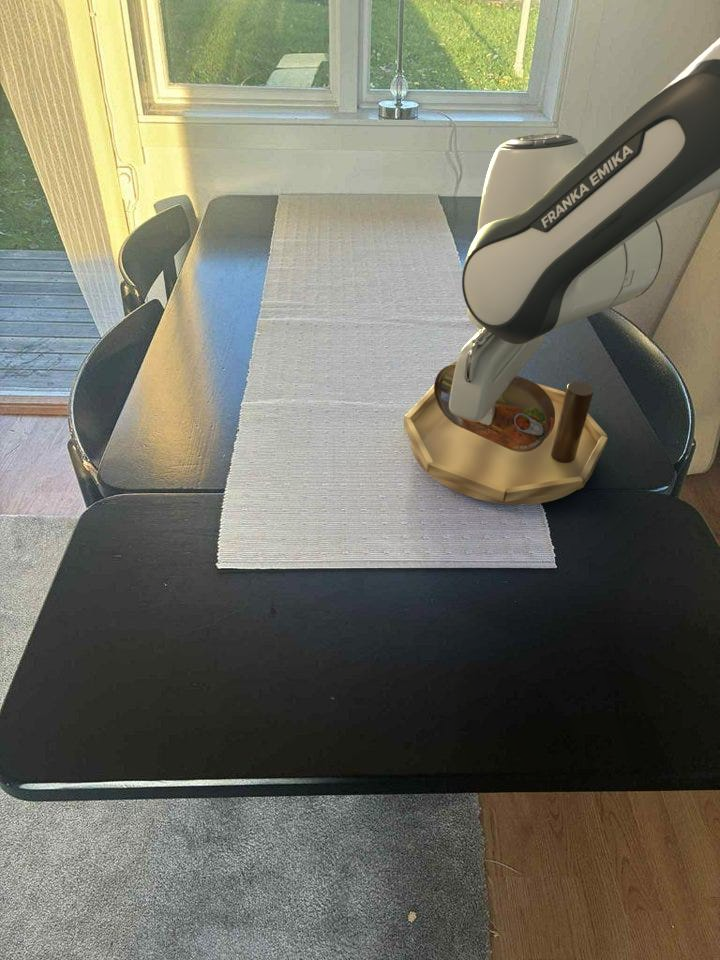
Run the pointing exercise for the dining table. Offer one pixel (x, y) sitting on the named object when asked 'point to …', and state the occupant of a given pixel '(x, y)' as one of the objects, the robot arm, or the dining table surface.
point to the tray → (510, 452)
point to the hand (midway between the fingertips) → (492, 411)
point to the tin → (506, 413)
